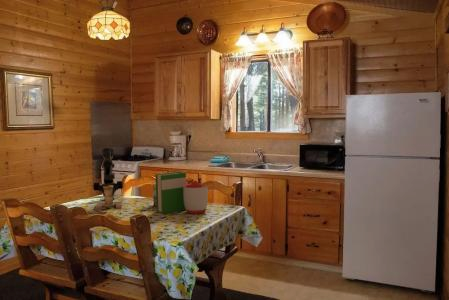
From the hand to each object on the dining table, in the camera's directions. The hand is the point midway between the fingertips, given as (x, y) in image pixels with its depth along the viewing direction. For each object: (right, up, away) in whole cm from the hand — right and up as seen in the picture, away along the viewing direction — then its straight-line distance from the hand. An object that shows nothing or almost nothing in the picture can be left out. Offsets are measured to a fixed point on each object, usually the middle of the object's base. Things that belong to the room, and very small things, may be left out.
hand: (108, 196), depth 253 cm
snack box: (+39, -8, +8) cm, 40 cm away
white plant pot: (+59, -9, -11) cm, 60 cm away
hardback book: (+42, -9, -8) cm, 44 cm away
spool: (0, -7, +2) cm, 7 cm away
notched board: (-1, -8, +6) cm, 10 cm away
